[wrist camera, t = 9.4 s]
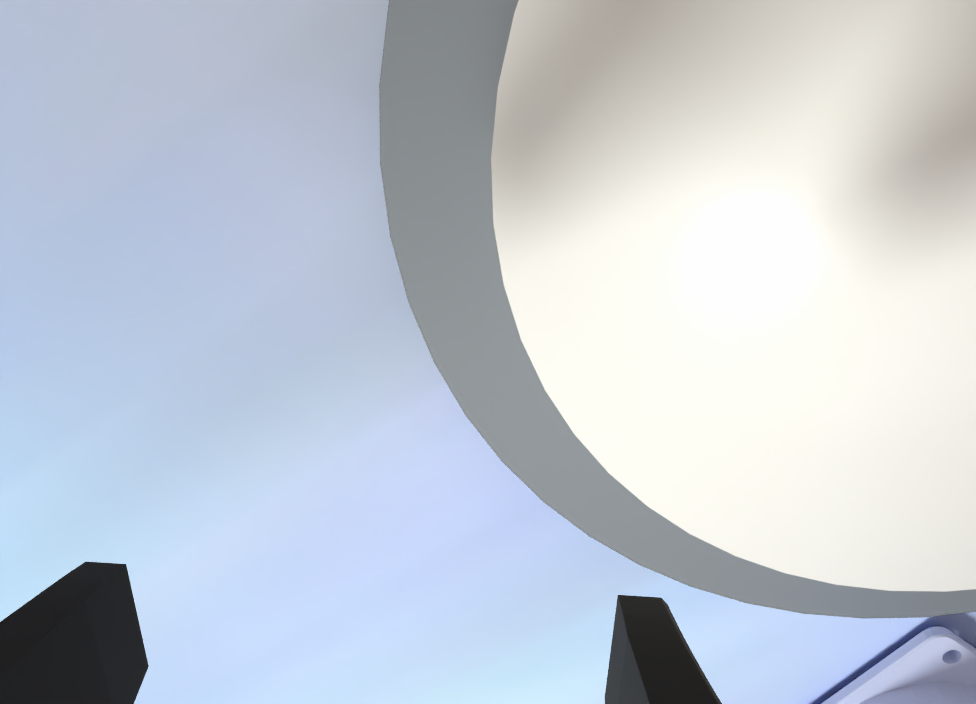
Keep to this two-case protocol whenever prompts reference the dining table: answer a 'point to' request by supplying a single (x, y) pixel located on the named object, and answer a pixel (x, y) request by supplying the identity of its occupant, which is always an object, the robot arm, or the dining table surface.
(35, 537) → the dining table surface
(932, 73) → the dial
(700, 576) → the stand base
